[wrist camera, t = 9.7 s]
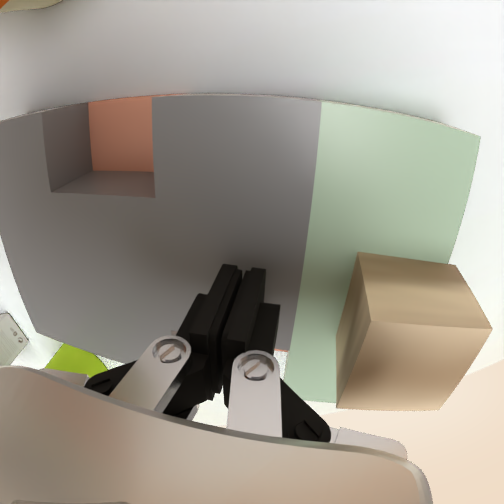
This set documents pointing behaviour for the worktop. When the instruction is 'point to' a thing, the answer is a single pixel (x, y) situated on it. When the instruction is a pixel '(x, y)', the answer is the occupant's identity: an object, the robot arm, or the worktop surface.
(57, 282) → the board
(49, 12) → the worktop surface
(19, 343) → the skincare box
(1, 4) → the reusable coffee cup
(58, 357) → the soap dispenser
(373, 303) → the maple block
